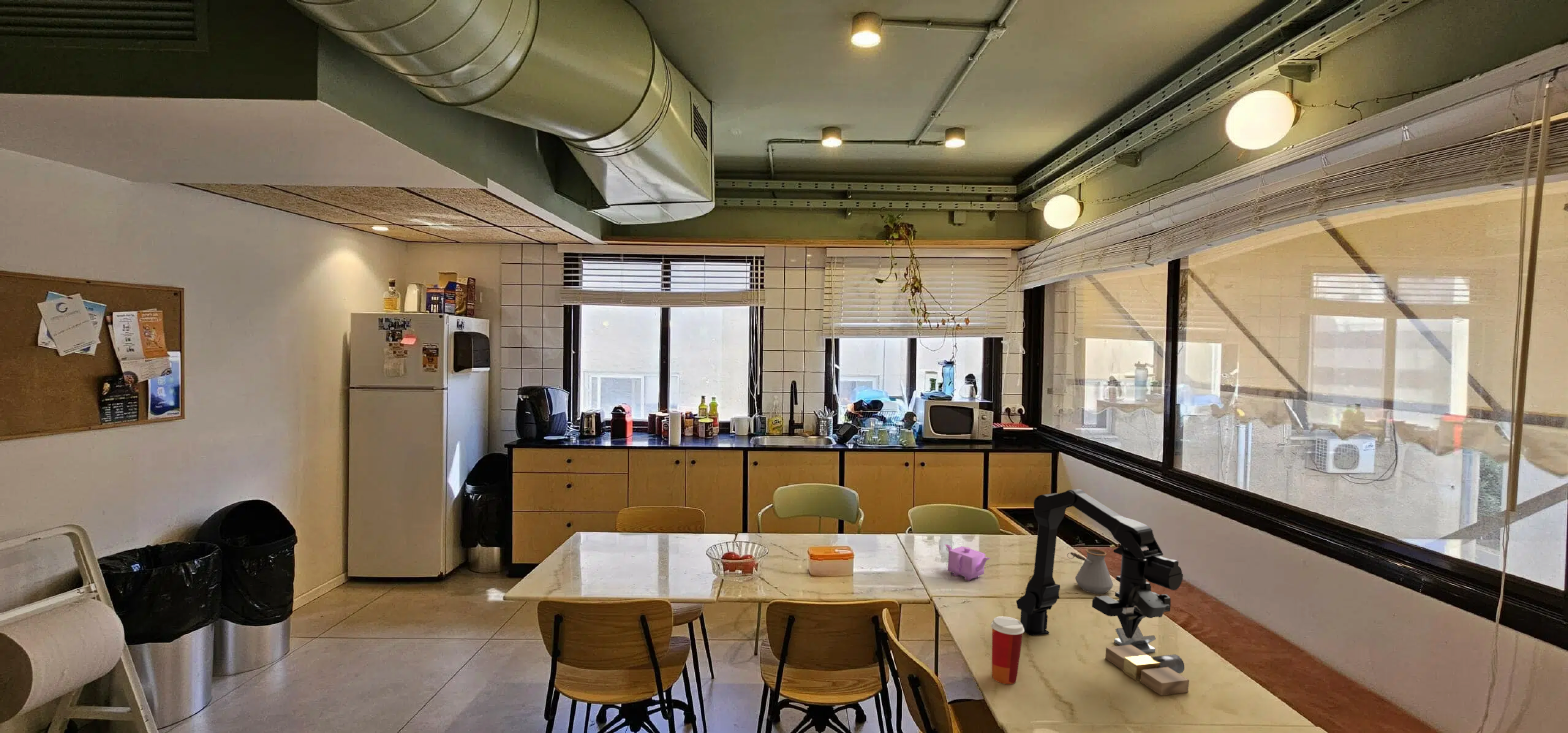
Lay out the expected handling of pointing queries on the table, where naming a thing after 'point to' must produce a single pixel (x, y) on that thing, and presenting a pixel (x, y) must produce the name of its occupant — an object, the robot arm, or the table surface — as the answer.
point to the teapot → (966, 562)
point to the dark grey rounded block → (1171, 662)
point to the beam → (1150, 672)
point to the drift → (1139, 665)
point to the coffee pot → (1093, 572)
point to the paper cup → (1006, 648)
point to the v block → (1135, 640)
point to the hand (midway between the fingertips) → (1128, 637)
